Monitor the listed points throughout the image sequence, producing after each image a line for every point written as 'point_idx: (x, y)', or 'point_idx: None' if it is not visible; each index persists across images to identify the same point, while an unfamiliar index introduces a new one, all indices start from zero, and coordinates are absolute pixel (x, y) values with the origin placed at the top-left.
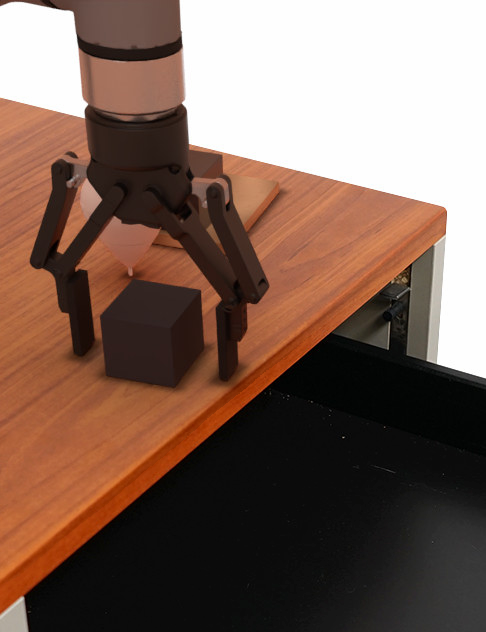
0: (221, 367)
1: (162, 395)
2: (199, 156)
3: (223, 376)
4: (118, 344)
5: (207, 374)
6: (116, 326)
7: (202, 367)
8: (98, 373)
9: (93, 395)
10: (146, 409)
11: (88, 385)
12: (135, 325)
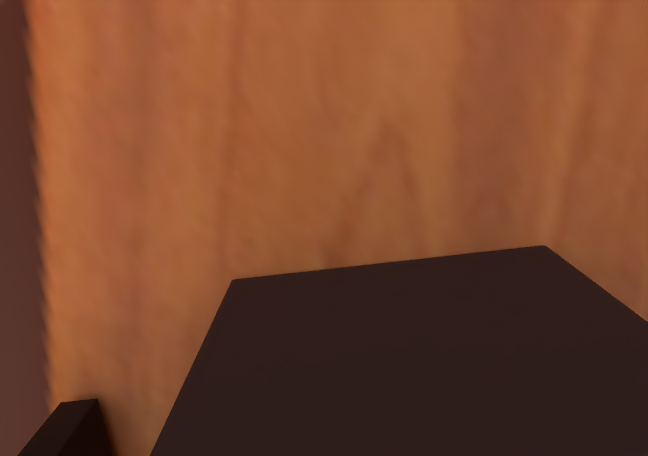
0: (55, 435)
1: (248, 206)
2: None
3: (69, 408)
4: (537, 332)
5: None
6: (604, 409)
7: None
8: (584, 251)
9: (529, 75)
10: (249, 69)
11: (586, 144)
12: (446, 449)
